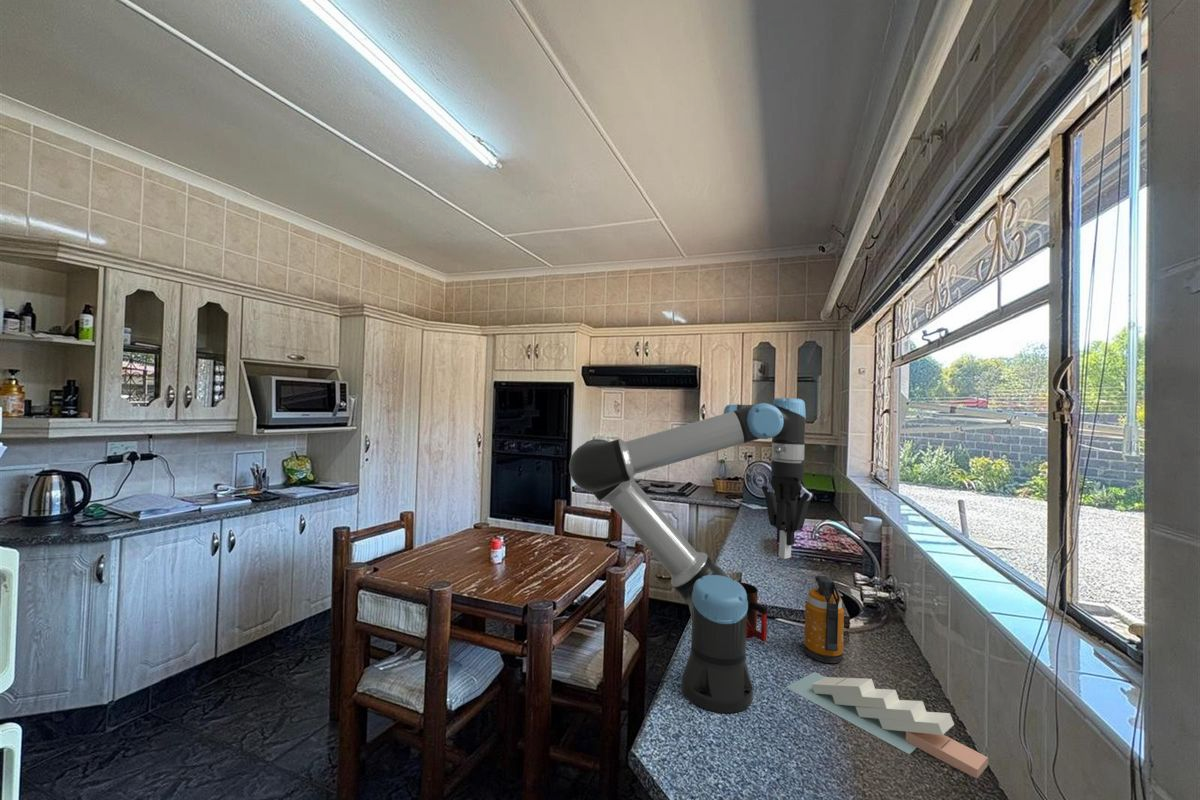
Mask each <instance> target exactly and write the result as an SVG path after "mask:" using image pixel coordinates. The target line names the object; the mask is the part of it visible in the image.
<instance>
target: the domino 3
mask: <svg viewBox="0 0 1200 800" xmlns="http://www.w3.org/2000/svg"><path fill="white" fill-rule="evenodd" d="M856 710H857V712H858V715H859V717H866V718H879V719H891V720H904V721H916V720H917V719H918V718H920V717H921V716H922V715H923V714H924V713H926V712H928V711H927V710H926V706H925V704H924V701H923V700H910V699H909V700H908V699H904V700H903V699H899V700H898V701H897V702H896V703H894V704H893V705H891V706H890V707H889V708H887V709H884V708H872V707H861V706H856Z"/></svg>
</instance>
